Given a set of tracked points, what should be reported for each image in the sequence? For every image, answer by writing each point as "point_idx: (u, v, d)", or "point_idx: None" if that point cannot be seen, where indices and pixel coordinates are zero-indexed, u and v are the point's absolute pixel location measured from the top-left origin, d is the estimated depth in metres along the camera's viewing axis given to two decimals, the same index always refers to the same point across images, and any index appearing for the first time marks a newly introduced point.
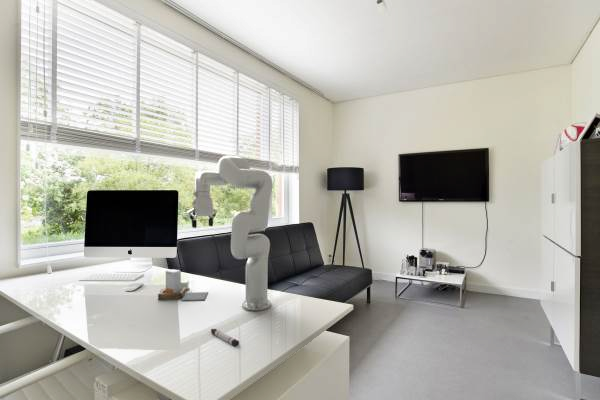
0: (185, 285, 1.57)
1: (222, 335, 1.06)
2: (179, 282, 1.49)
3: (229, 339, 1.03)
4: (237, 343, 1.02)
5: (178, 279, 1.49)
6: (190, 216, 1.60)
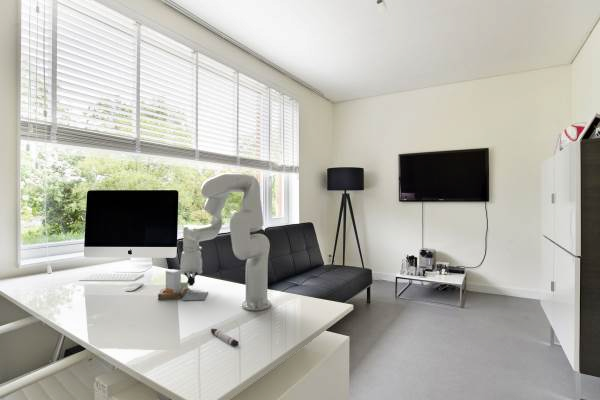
0: (185, 285, 1.57)
1: (222, 335, 1.06)
2: (179, 282, 1.49)
3: (229, 339, 1.03)
4: (236, 343, 1.02)
5: (178, 279, 1.49)
6: None
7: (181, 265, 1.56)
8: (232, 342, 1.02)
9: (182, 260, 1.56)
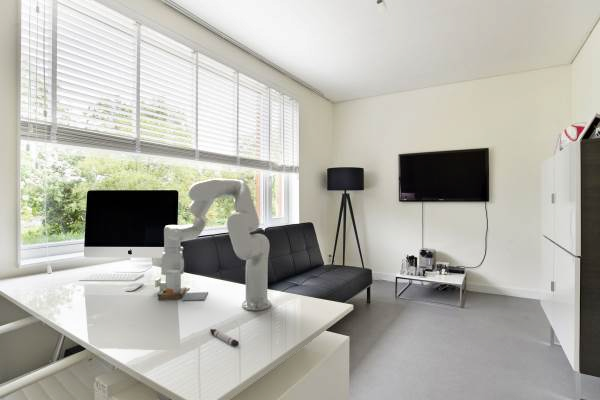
0: None
1: (221, 335, 1.06)
2: (179, 282, 1.49)
3: (229, 339, 1.03)
4: (237, 343, 1.02)
5: (178, 279, 1.49)
6: None
7: (162, 265, 1.54)
8: (232, 342, 1.02)
9: (163, 260, 1.54)
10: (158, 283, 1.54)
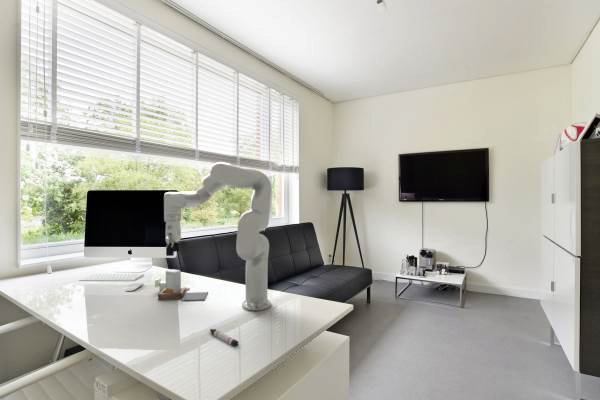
0: (165, 286, 1.55)
1: (221, 335, 1.06)
2: (179, 282, 1.49)
3: (228, 339, 1.03)
4: (236, 343, 1.02)
5: (178, 279, 1.49)
6: (170, 243, 1.42)
7: None
8: (232, 342, 1.02)
9: None
10: (158, 283, 1.54)
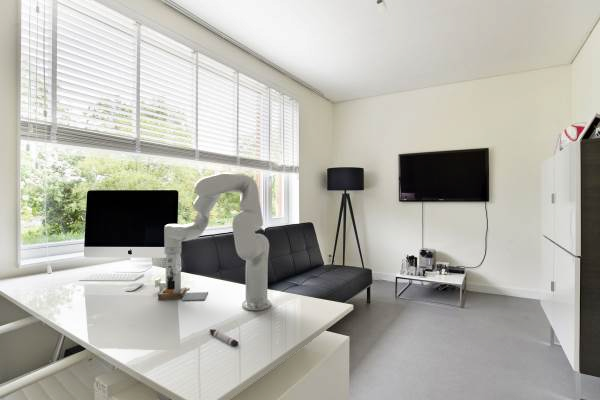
0: (165, 286, 1.55)
1: (221, 335, 1.06)
2: (179, 282, 1.49)
3: (228, 339, 1.03)
4: (236, 343, 1.02)
5: (178, 279, 1.49)
6: (171, 277, 1.43)
7: None
8: (232, 342, 1.01)
9: None
10: (158, 283, 1.54)
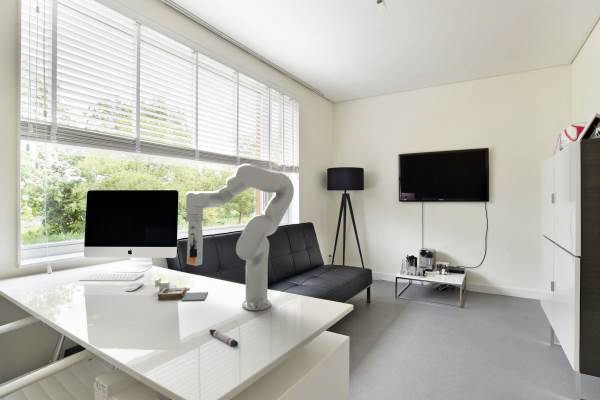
0: (165, 286, 1.55)
1: (221, 336, 1.06)
2: (201, 251, 1.46)
3: (228, 340, 1.03)
4: (236, 344, 1.02)
5: (200, 248, 1.46)
6: (193, 245, 1.40)
7: None
8: (232, 342, 1.01)
9: None
10: (158, 283, 1.54)
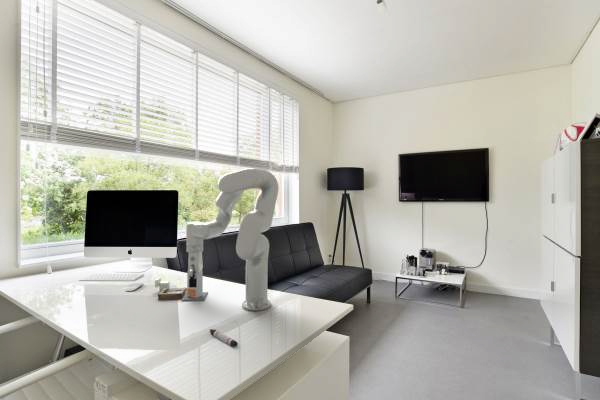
0: (165, 286, 1.55)
1: (221, 336, 1.05)
2: (201, 282, 1.47)
3: (228, 340, 1.03)
4: (236, 344, 1.01)
5: (200, 280, 1.46)
6: (193, 275, 1.39)
7: None
8: (231, 342, 1.01)
9: None
10: (158, 283, 1.54)
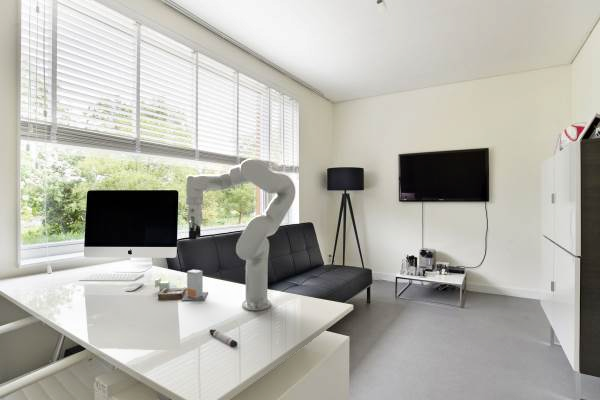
0: (165, 286, 1.55)
1: (220, 336, 1.05)
2: (201, 283, 1.47)
3: (227, 340, 1.03)
4: (235, 344, 1.01)
5: (200, 280, 1.46)
6: (193, 226, 1.39)
7: None
8: (231, 343, 1.01)
9: None
10: (158, 283, 1.54)
